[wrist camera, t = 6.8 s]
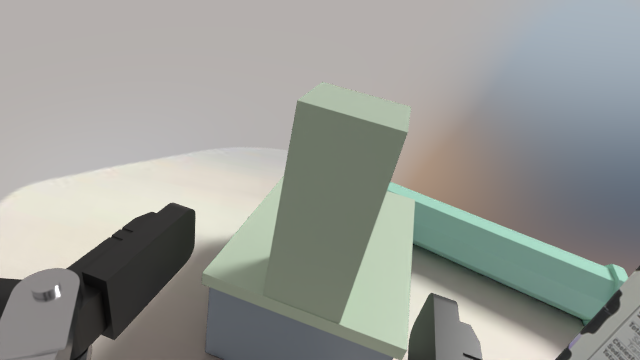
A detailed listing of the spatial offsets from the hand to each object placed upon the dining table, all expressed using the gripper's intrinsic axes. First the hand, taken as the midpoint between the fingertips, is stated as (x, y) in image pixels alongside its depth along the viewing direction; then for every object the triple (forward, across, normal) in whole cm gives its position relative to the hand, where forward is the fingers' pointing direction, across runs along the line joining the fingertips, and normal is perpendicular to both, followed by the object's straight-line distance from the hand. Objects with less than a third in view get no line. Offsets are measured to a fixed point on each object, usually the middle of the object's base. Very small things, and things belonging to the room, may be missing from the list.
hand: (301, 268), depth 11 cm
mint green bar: (+22, -11, +13) cm, 28 cm away
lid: (+10, 0, +6) cm, 12 cm away
